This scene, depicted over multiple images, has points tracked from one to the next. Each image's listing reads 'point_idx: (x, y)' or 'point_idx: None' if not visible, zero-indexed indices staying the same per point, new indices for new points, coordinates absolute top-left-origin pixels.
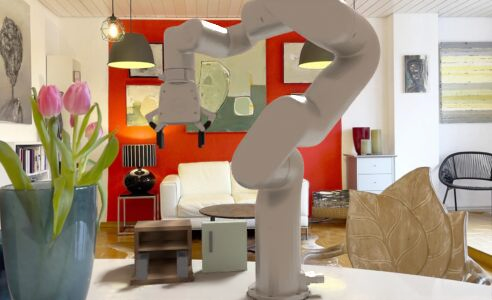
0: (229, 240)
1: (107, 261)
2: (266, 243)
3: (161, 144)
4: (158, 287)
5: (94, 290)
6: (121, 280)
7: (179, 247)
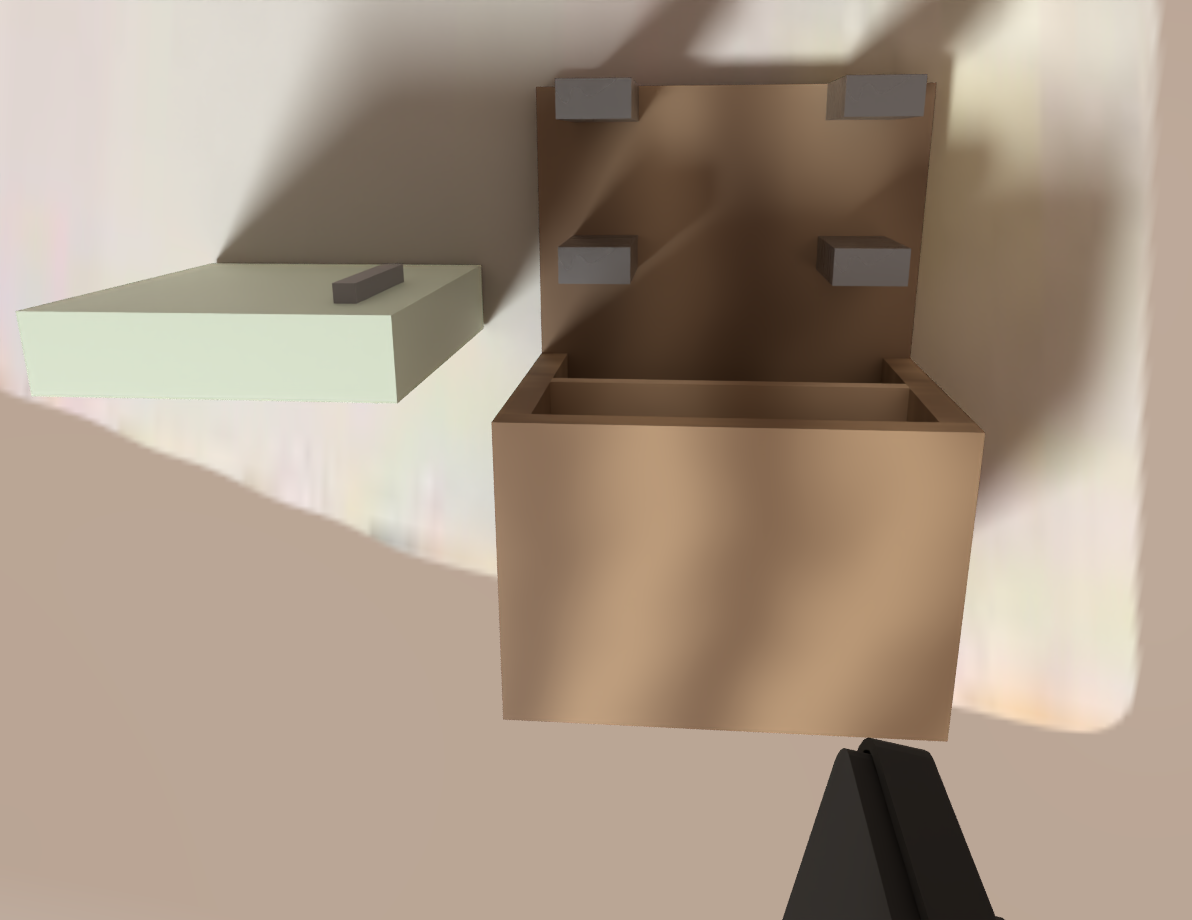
0: (232, 289)
1: (1077, 668)
2: None
3: (861, 802)
4: (755, 18)
5: (1149, 35)
6: (983, 217)
7: (610, 382)
